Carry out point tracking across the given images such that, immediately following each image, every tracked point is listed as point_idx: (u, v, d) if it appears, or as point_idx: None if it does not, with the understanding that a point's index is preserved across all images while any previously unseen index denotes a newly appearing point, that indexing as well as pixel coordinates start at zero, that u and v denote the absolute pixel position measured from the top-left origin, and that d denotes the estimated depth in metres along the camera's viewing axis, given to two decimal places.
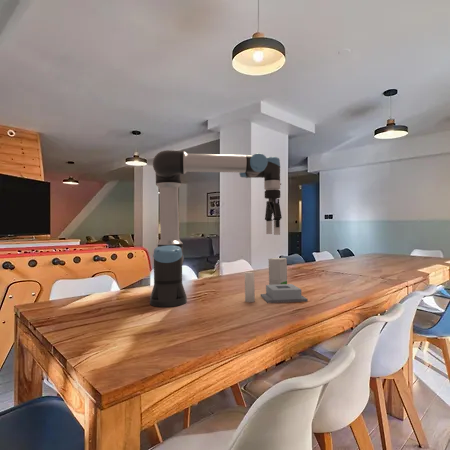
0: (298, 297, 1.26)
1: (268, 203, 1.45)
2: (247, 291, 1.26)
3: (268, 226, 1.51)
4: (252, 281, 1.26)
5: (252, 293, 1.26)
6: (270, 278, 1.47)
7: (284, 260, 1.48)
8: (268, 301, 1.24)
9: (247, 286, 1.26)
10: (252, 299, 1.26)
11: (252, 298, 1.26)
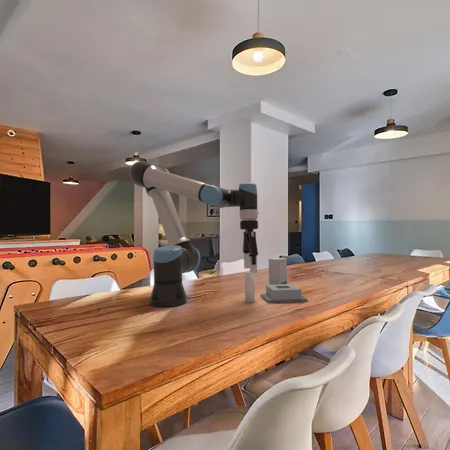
0: (298, 297, 1.26)
1: (244, 235, 1.28)
2: (247, 291, 1.26)
3: (246, 259, 1.34)
4: (252, 281, 1.26)
5: (252, 293, 1.26)
6: (270, 278, 1.47)
7: (284, 260, 1.48)
8: (268, 301, 1.24)
9: (247, 286, 1.26)
10: (252, 299, 1.26)
11: (252, 298, 1.26)
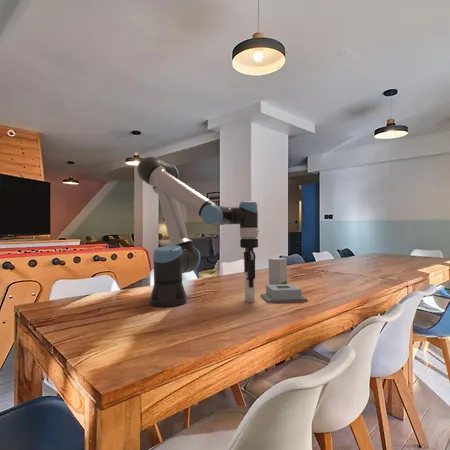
0: (298, 297, 1.26)
1: (244, 252, 1.28)
2: None
3: None
4: None
5: None
6: (270, 278, 1.47)
7: (284, 260, 1.48)
8: (268, 301, 1.24)
9: None
10: (252, 299, 1.26)
11: (252, 298, 1.26)
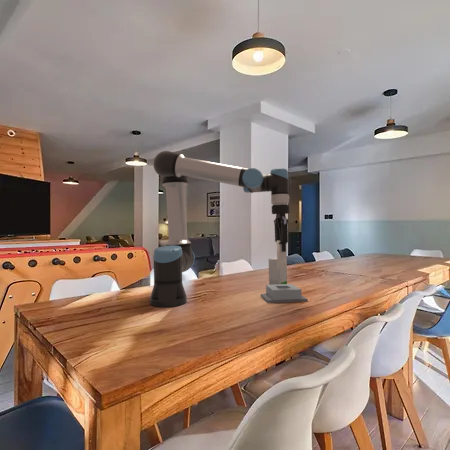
0: (298, 297, 1.26)
1: (276, 218, 1.31)
2: (279, 258, 1.29)
3: None
4: None
5: (284, 260, 1.29)
6: (270, 278, 1.47)
7: None
8: (268, 301, 1.24)
9: (279, 253, 1.29)
10: (285, 266, 1.29)
11: (284, 265, 1.29)
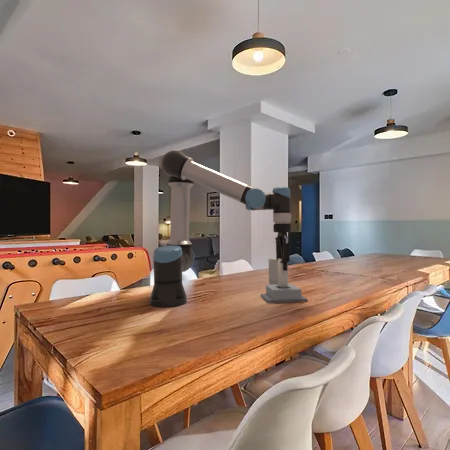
0: (298, 297, 1.26)
1: (277, 237, 1.32)
2: (280, 277, 1.29)
3: None
4: None
5: (286, 279, 1.29)
6: (270, 278, 1.47)
7: None
8: (268, 301, 1.24)
9: None
10: (286, 284, 1.29)
11: (286, 283, 1.29)
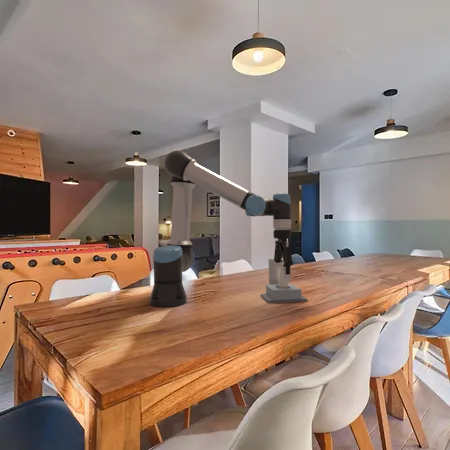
0: (298, 297, 1.26)
1: (277, 243, 1.32)
2: (280, 287, 1.29)
3: None
4: None
5: None
6: (270, 278, 1.47)
7: None
8: (268, 301, 1.24)
9: (281, 281, 1.29)
10: None
11: None
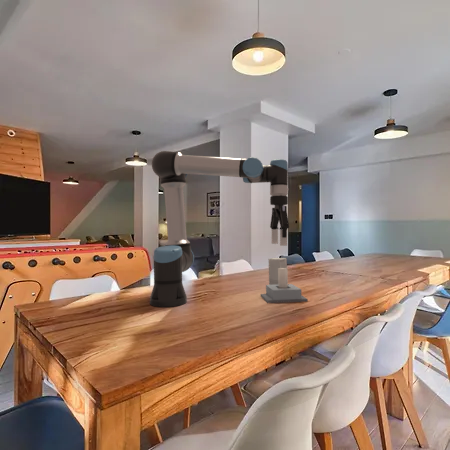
0: (298, 297, 1.26)
1: (274, 210, 1.32)
2: (280, 287, 1.29)
3: (274, 235, 1.38)
4: (286, 276, 1.29)
5: None
6: (270, 278, 1.47)
7: (284, 260, 1.48)
8: (268, 301, 1.24)
9: (281, 282, 1.29)
10: None
11: None
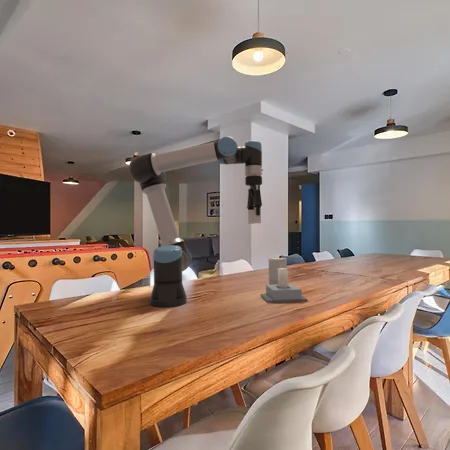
0: (298, 297, 1.26)
1: (249, 190, 1.37)
2: (280, 287, 1.29)
3: (250, 215, 1.42)
4: (286, 276, 1.29)
5: None
6: (270, 278, 1.47)
7: (284, 260, 1.48)
8: (268, 301, 1.24)
9: (281, 282, 1.29)
10: None
11: None
